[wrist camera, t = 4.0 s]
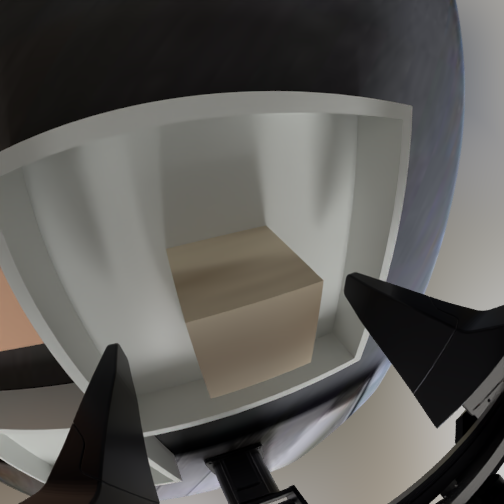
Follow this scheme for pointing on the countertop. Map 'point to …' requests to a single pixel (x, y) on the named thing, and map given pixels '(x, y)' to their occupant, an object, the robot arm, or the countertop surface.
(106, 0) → the countertop surface
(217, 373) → the beech cube
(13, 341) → the tile
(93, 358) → the tray
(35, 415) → the tray
